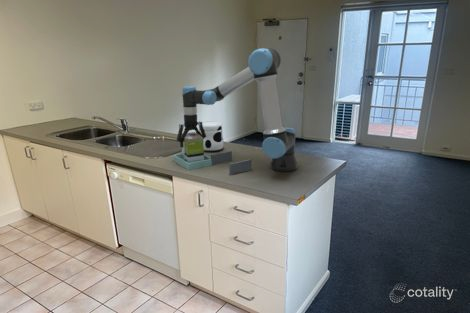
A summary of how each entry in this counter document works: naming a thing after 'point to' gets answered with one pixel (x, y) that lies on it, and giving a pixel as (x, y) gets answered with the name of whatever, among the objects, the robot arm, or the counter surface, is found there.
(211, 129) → the milk container
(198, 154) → the tea box
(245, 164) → the dock
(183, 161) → the tray
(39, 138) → the counter surface
